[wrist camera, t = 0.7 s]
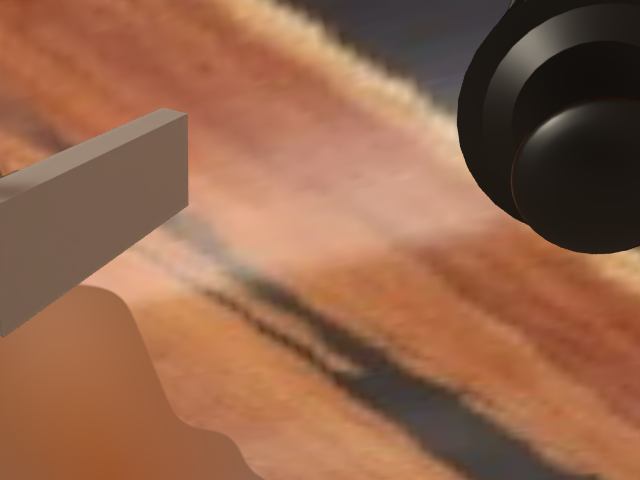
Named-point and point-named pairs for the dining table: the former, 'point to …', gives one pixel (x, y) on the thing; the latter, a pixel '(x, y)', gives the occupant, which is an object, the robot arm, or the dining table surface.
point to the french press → (559, 120)
